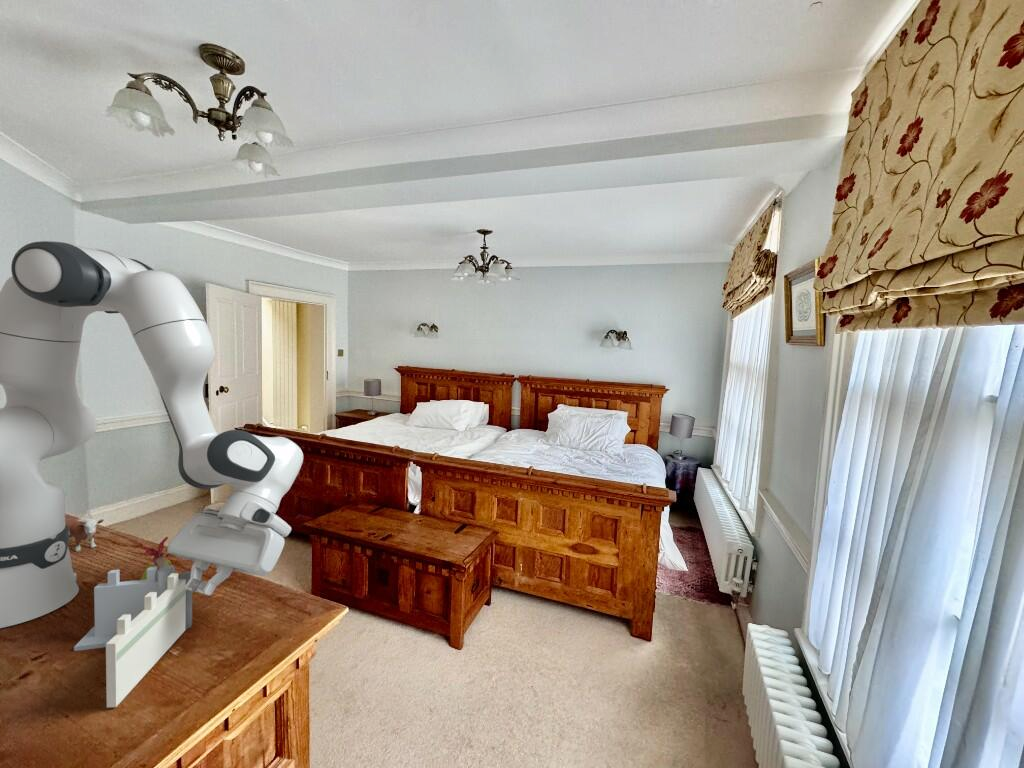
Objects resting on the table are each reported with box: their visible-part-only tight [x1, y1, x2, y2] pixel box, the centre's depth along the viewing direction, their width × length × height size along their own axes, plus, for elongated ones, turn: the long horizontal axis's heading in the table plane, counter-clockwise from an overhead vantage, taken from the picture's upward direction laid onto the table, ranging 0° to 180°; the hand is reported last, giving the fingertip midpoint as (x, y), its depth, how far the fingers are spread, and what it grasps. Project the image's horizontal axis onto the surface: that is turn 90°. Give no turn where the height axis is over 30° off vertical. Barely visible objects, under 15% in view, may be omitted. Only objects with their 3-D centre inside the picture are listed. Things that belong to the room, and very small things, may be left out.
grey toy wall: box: [73, 564, 176, 652], centre depth 72 cm, size 13×5×12 cm, turn 109°
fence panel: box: [105, 570, 193, 708], centre depth 67 cm, size 18×2×12 cm, turn 9°
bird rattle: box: [139, 536, 174, 580], centre depth 86 cm, size 6×11×9 cm
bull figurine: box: [65, 517, 104, 553], centre depth 98 cm, size 4×13×8 cm, turn 79°
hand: (197, 592), depth 70 cm, fingers closed
